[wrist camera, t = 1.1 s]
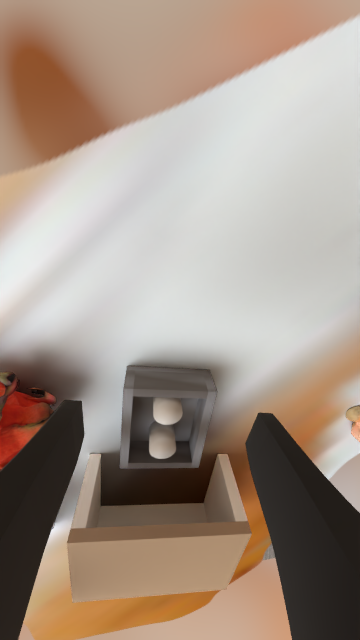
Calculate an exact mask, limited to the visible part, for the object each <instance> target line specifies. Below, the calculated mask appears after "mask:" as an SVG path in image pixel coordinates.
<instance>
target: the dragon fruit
mask: <svg viewBox="0 0 360 640" xmlns="http://www.w3.org/2000/svg"><path fill="white" fill-rule="evenodd" d="M19 382H20V380H18V381H17V377H16V375H15V374H14V373H12V372H5V373H0V470H1V469H2V468H3V467H4V466H5V465H6V464H7V463H8V462H9V461H10V460H11V459H12V458H13V457H14V456H15V455H16V454H17V453H18V452H19V451H20V450H21V449H22V448H23V447H24V446H25V445H26V444H27V442H28V441H29V440H30V439H31V438H32V437H33V436H34V435H35V434H36V433H37V432H38V430H39V429H40V428H41V427H42V426H43V425H44V424H45V422H46V421H47V420H48V419H49V418H50V417H51V415H52V414H53V413H54V412H55V411H54V410H53V409H51V408H50V407H49V406H50V405H51V404H52V405H53V404H55V403H56V397H55V396H53V395H51V394H50V393H49V392H46V391H45V390H43V389H41V388H36V387H35V388H29V389H28V388H27V389H28V390H37V391H32V393H35V394H40V395H44V397H41V398H36V397H33V396H30V395H27V394H24V393H20V392H17V391H15V390H16V389H17V388H18V385H19ZM53 406H54V405H53Z"/></svg>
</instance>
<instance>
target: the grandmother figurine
mask: <svg viewBox="0 0 360 640" xmlns="http://www.w3.org/2000/svg"><path fill="white" fill-rule="evenodd" d="M346 418H347V419H348V420H350V421H353V422H354V423H353V424H352V430H351V434H352V435H353V436H354V437H355V438H356V439H357V440H358V441H359V442H360V406H357V407H353V408H351V409H349V410H348V411H347V413H346Z"/></svg>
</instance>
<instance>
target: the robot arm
mask: <svg viewBox="0 0 360 640" xmlns="http://www.w3.org/2000/svg"><path fill="white" fill-rule="evenodd" d="M83 438H84V424H83V412H82V401H72V400H65V401H63V402H62V403H61V405H60V406H59V407H58V408H57V410H56V411H55V412H54V413H53V414H52V415H51V417H50V418H49V419H48V420H47V421H46V422H45V424H44V425H43V426H42V427H41V428H40V429H39V430H38V432H37V433H36V434H35V435H34V436H33V437H32V438H31V439H30V440H29V441H28V442H27V444H26V445H25V446H24V447H23V448H22V449H21V450H20V451H19V452H18V453H17V454H16V455H15V456H14V457H13V458H12V459H11V460H10V461H9V462H8V463H7V464H6V465H5V466H4V467H3V468H2V469H1V470H0V640H19V635H20V631H21V627H22V624H23V621H24V617H25V614H26V610H27V607H28V603H29V600H30V596H31V593H32V589H33V586H34V583H35V579H36V576H37V573H38V569H39V566H40V563H41V559H42V556H43V553H44V549H45V546H46V544H47V541H48V538H49V535H50V532H51V529H53V528H54V525H55V524H54V522H55V519H56V516H57V514H58V511H59V508H60V506H61V503H62V501H63V498H64V495H65V493H66V490H67V488H68V485H69V482H70V480H71V477H72V474H73V472H74V469H75V466H76V464H77V460H78V457H79V453H80V450H81V446H82V442H83ZM246 449H247V455H248V460H249V465H250V470H251V474H252V477H253V481H254V484H255V487H256V491H257V494H258V497H259V501H260V504H261V507H262V511H263V514H264V517H265V521H266V524H267V527H268V530H269V534H270V537H271V541H272V545H273V549H274V553H275V557H276V562H277V566H278V571H279V576H280V580H281V585H282V590H283V595H284V599H285V605H286V610H287V614H288V620H289V625H290V631H291V636H292V640H360V513H359V512H358V511H357V510H356V509H355V508H354V507H353V506H352V505H351V504H350V503H349V502H348V501H347V500H346V499H345V498H344V497H343V495H342V494H341V493H340V492H339V491H338V490H337V489H336V488H335V487H334V486H333V485H332V484H331V482H330V481H329V480H328V479H327V478H326V477H325V476H324V475H323V474H322V472H321V471H320V470H319V469H318V468H317V467H316V466H315V464H314V463H313V462H312V461H311V460H310V459H309V457H308V456H307V455H306V454H305V453H304V451H303V450H302V449H301V448H300V447H299V445H298V444H297V443H296V442H295V441H294V439H293V438H292V437H291V436H290V434H289V433H288V432H287V431H286V430H285V428H284V427H283V426H282V425H281V423H280V422H279V421H278V420H277V418H276V417H275V416H274V415H273V414H271V413H258V415H257V417H256V420H255V422H254V424H253V427H252V429H251V432H250V434H249V436H248V439H247V441H246Z"/></svg>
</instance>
